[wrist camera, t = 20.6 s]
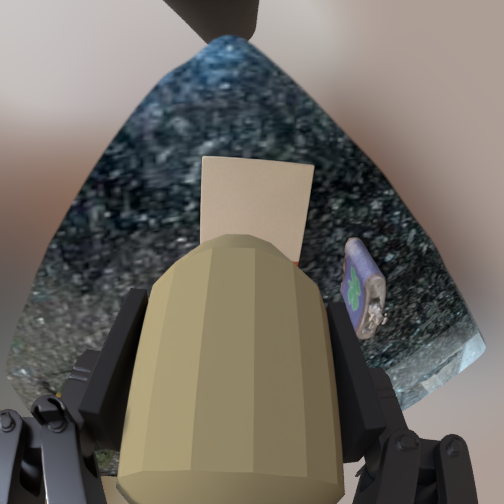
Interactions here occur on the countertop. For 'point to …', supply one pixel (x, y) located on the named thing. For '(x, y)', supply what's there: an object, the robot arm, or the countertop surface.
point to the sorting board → (256, 200)
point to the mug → (104, 457)
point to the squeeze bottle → (233, 385)
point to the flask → (362, 289)
